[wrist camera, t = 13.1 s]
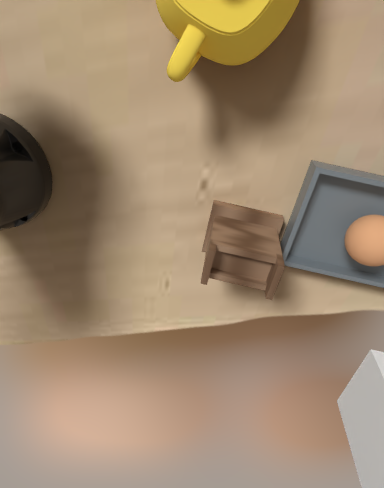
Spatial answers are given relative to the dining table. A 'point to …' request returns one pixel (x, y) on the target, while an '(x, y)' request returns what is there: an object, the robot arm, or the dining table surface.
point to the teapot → (221, 30)
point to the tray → (332, 222)
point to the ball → (366, 240)
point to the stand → (243, 247)
